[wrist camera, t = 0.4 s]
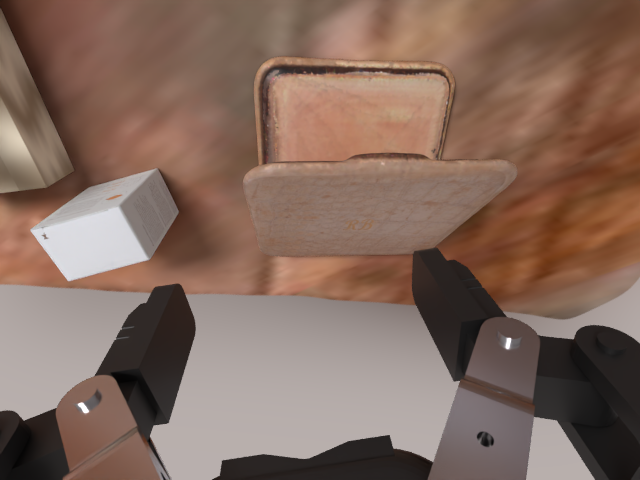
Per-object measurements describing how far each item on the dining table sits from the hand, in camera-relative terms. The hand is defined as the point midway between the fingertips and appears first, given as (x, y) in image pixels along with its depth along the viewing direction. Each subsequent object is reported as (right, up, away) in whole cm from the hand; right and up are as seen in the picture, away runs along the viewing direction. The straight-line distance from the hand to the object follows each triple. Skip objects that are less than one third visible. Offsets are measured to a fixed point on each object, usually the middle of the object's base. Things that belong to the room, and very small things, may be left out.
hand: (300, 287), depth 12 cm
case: (+4, +10, +27) cm, 30 cm away
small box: (-20, +6, +27) cm, 34 cm away
